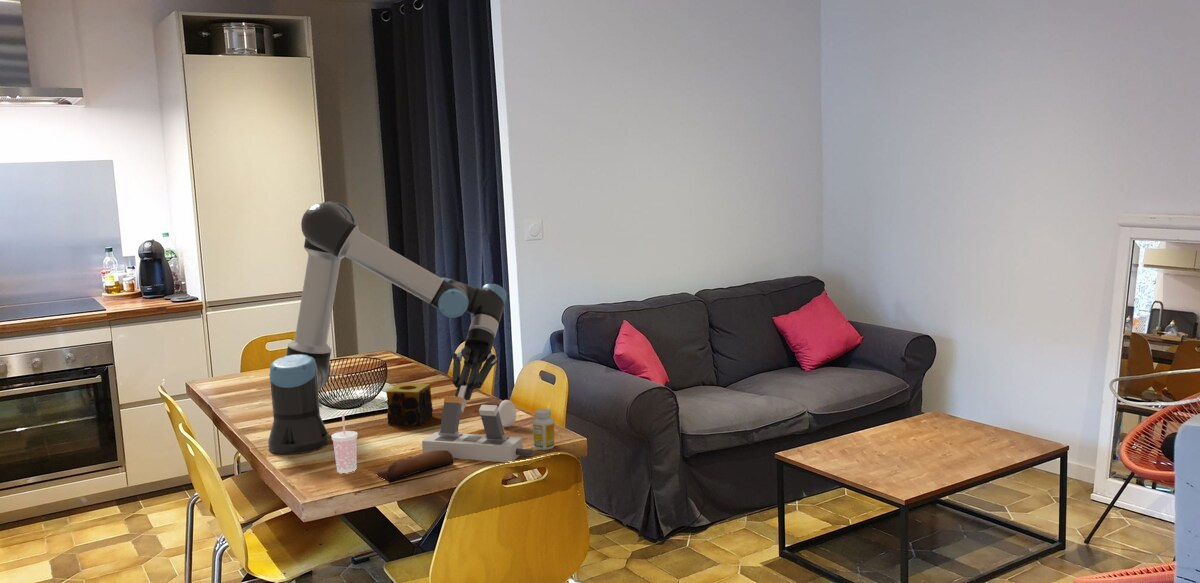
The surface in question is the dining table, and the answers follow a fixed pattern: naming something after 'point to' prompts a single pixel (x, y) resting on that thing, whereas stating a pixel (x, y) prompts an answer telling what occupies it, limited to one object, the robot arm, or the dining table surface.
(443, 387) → the dining table surface
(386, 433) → the dining table surface
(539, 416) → the supplement bottle
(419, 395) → the candle
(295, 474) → the dining table surface
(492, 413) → the switch white
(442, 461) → the sunglasses case
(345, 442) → the beverage cup
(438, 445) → the power strip
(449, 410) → the switch orange
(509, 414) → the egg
